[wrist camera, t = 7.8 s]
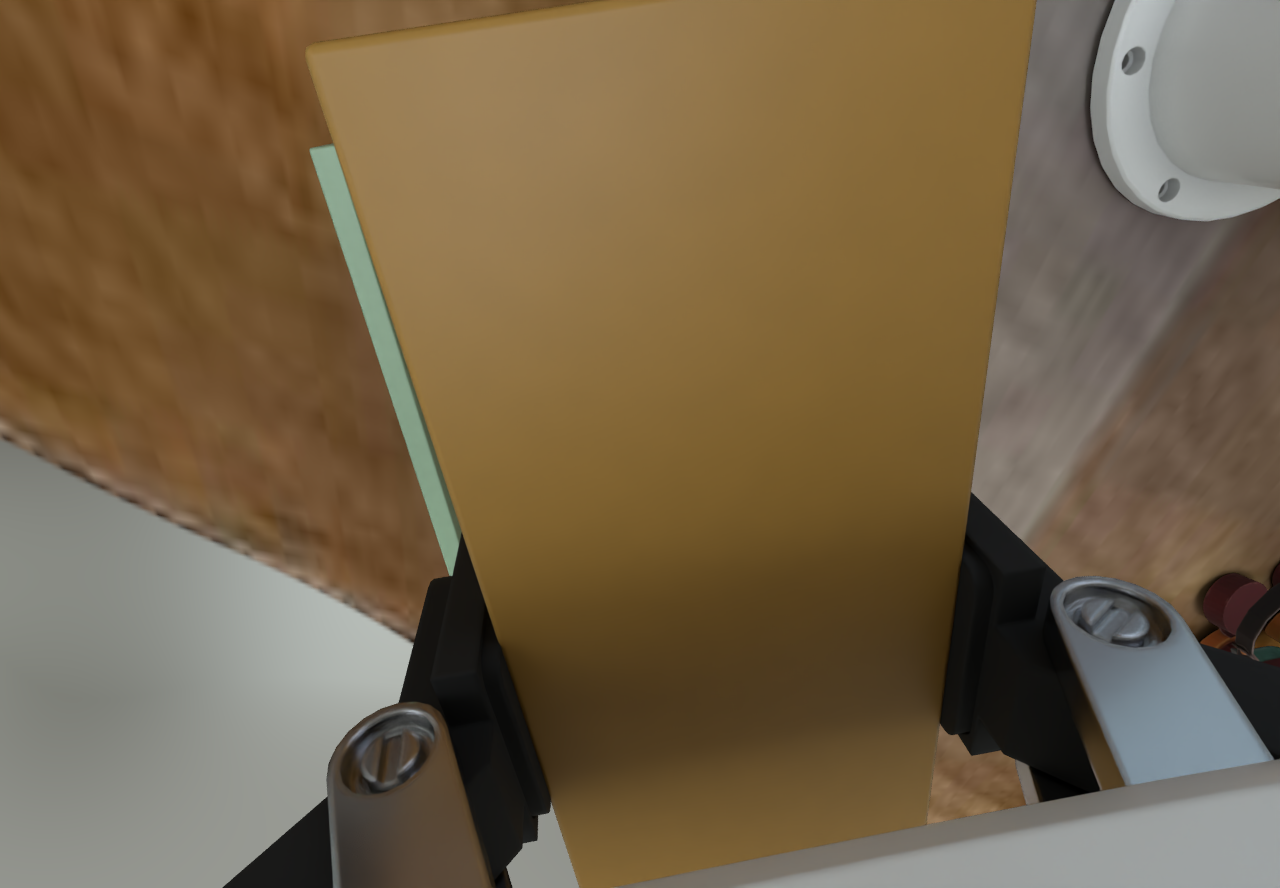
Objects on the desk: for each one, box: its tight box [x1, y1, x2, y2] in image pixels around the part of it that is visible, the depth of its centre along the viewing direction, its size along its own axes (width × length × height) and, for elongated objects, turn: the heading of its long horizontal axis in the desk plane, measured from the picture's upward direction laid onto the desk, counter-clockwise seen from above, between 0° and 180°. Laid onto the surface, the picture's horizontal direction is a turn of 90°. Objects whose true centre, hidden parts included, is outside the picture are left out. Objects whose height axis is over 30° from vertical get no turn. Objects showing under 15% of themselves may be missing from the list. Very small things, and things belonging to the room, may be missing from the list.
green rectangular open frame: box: [310, 144, 462, 576], centre depth 26 cm, size 16×19×4 cm
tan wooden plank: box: [305, 0, 1037, 888], centre depth 10 cm, size 6×15×4 cm, turn 8°
